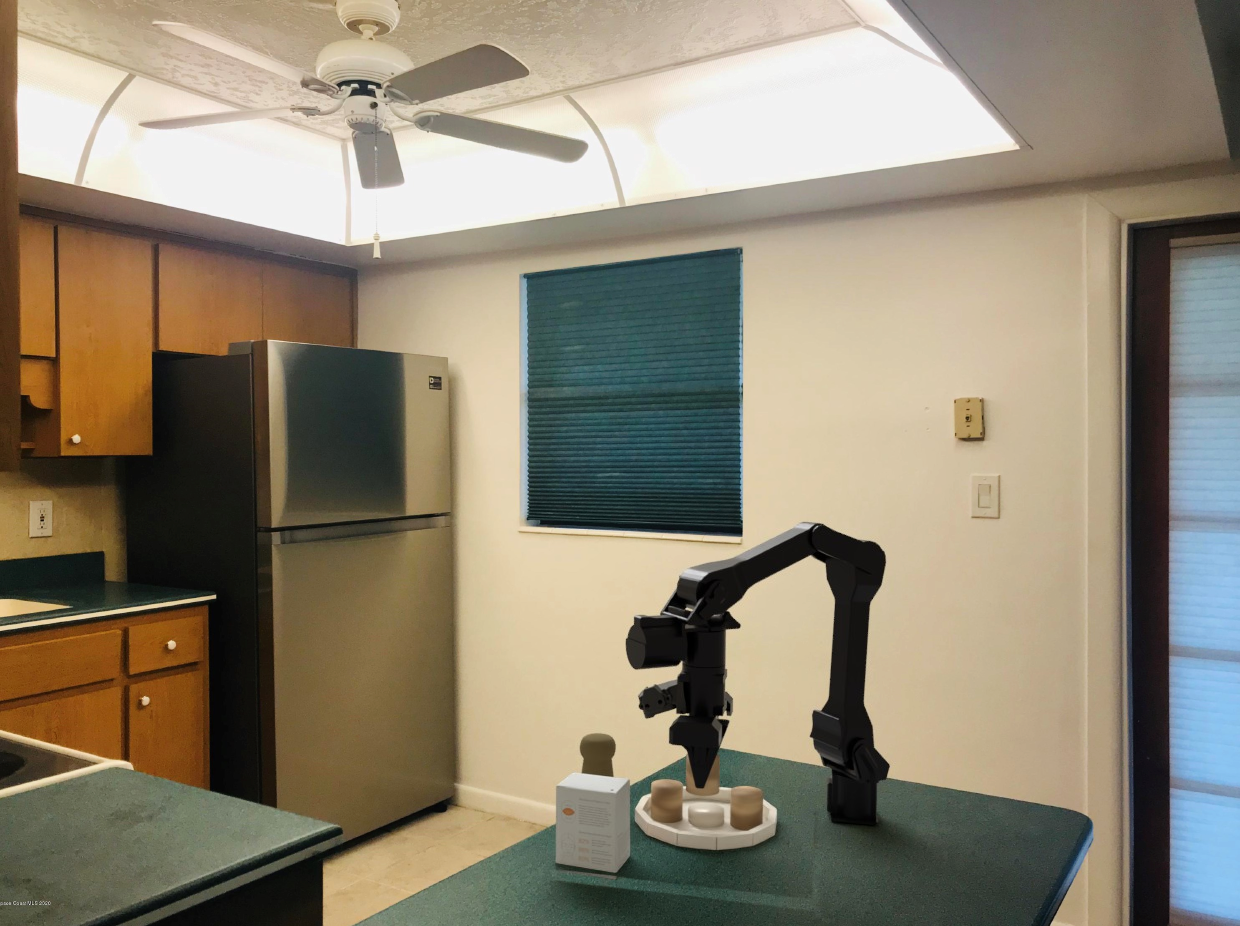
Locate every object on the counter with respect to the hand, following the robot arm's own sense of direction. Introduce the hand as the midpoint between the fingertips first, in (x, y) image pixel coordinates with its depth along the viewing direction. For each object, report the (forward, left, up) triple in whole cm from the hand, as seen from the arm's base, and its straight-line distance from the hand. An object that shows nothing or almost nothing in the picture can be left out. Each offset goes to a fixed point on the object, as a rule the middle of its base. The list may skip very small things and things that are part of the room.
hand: (702, 782), depth 121 cm
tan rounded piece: (-5, -5, -7) cm, 10 cm away
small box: (+12, +11, -8) cm, 18 cm away
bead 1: (+6, -5, -7) cm, 11 cm away
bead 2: (0, 0, -1) cm, 1 cm away
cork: (+16, -7, -8) cm, 20 cm away
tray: (0, -5, -8) cm, 10 cm away
